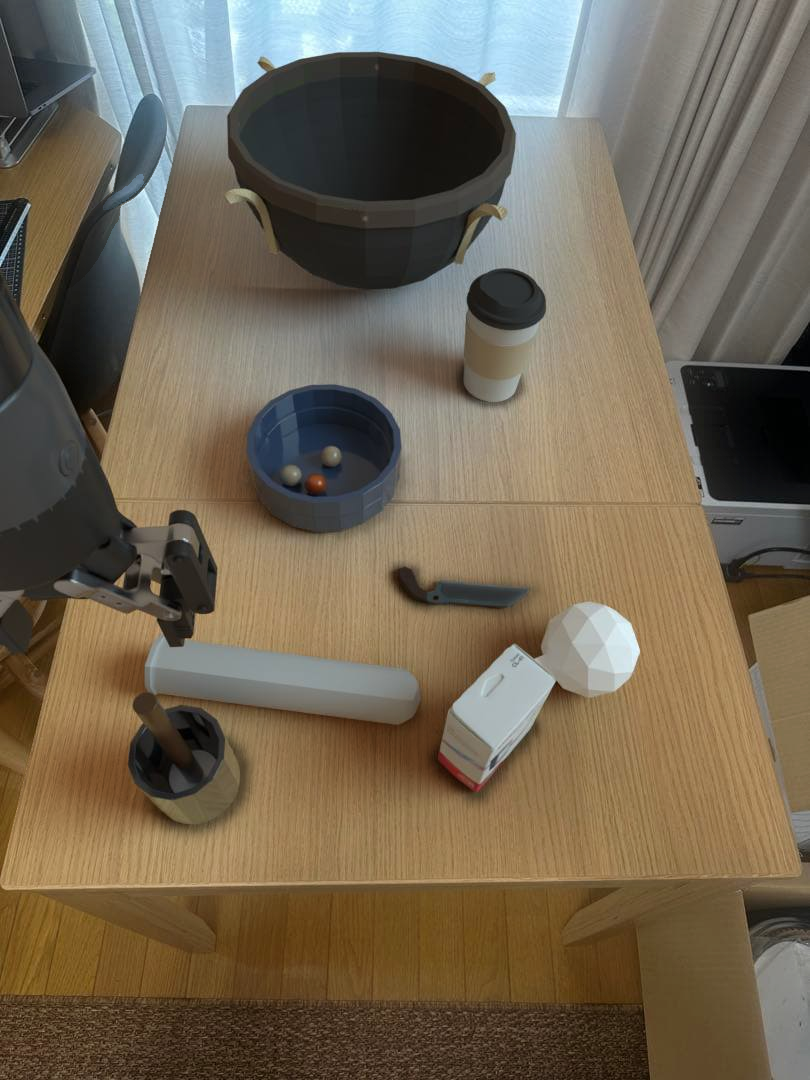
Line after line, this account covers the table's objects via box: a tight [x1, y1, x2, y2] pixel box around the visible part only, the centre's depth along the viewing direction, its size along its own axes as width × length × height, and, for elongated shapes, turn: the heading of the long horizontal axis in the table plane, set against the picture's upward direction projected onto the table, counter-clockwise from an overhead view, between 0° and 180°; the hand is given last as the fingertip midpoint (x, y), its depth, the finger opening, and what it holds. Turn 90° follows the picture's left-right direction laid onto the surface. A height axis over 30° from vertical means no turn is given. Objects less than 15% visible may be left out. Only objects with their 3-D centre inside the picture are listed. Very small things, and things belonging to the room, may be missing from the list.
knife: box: [397, 566, 531, 609], centre depth 77 cm, size 14×4×1 cm, turn 86°
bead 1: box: [280, 465, 302, 486], centre depth 82 cm, size 2×2×2 cm
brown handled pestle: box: [132, 691, 217, 793], centre depth 57 cm, size 4×4×19 cm
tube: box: [143, 633, 422, 726], centre depth 69 cm, size 5×5×25 cm
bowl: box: [222, 51, 517, 291], centre depth 98 cm, size 35×35×20 cm
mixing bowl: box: [245, 383, 403, 533], centre depth 83 cm, size 17×17×6 cm
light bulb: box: [534, 600, 641, 699], centre depth 70 cm, size 9×9×12 cm
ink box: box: [437, 643, 557, 793], centre depth 64 cm, size 9×5×12 cm, turn 137°
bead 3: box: [321, 446, 342, 467], centre depth 84 cm, size 2×2×2 cm
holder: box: [127, 704, 241, 826], centre depth 62 cm, size 7×8×9 cm
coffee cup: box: [463, 267, 547, 403], centre depth 88 cm, size 9×9×15 cm
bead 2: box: [305, 474, 326, 495], centre depth 82 cm, size 2×2×2 cm
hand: (102, 635), depth 42 cm, fingers open, 8 cm apart
